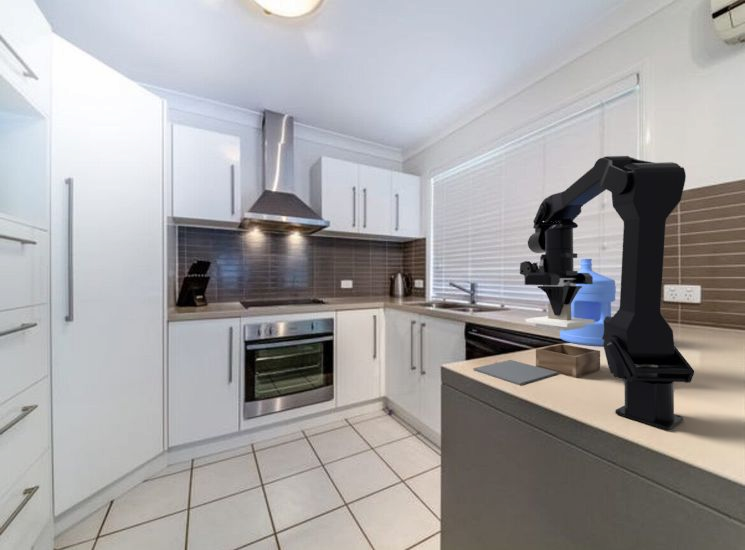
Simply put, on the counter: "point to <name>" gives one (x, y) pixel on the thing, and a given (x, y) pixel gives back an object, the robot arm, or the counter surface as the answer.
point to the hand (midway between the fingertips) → (559, 315)
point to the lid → (560, 320)
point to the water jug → (591, 307)
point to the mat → (515, 372)
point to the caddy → (568, 359)
